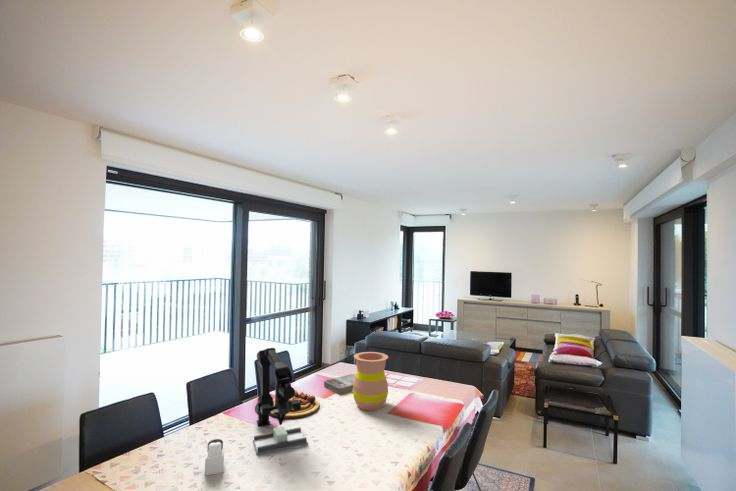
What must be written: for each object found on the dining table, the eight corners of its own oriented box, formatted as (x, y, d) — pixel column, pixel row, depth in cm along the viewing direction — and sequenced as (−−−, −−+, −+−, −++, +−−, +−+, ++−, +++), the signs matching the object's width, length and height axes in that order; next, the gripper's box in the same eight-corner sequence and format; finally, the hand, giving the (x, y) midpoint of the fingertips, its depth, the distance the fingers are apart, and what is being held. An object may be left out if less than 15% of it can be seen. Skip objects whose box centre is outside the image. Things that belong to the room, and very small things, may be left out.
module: (273, 437, 181) (273, 428, 181) (283, 435, 184) (283, 426, 184) (276, 445, 174) (277, 435, 174) (287, 443, 176) (287, 433, 177)
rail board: (252, 441, 180) (253, 435, 180) (300, 432, 190) (301, 426, 190) (256, 455, 168) (256, 448, 168) (307, 444, 178) (307, 438, 178)
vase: (388, 399, 236) (389, 352, 237) (387, 414, 214) (387, 362, 215) (354, 397, 238) (355, 351, 239) (349, 411, 216) (350, 360, 217)
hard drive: (369, 386, 259) (369, 380, 259) (338, 395, 242) (338, 388, 242) (354, 379, 274) (354, 373, 274) (323, 387, 256) (323, 380, 257)
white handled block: (206, 466, 158) (206, 438, 159) (223, 463, 161) (224, 436, 161) (204, 476, 152) (205, 446, 152) (223, 472, 154) (224, 444, 155)
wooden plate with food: (288, 425, 198) (289, 409, 199) (254, 408, 218) (255, 394, 219) (330, 408, 223) (330, 394, 224) (296, 394, 243) (296, 381, 244)
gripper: (264, 401, 168) (263, 435, 168) (304, 395, 176) (303, 428, 176) (260, 393, 178) (259, 425, 178) (298, 387, 186) (297, 418, 186)
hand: (280, 424), depth 179 cm, fingers closed
